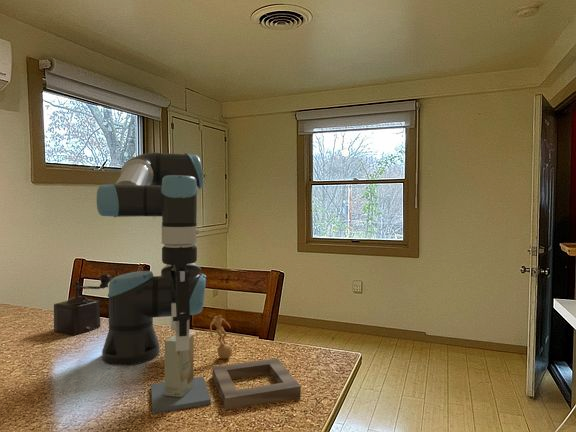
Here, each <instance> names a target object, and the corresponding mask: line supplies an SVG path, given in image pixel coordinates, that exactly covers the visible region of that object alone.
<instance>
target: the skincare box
mask: <svg viewBox="0 0 576 432" xmlns="http://www.w3.org/2000/svg"><path fill="white" fill-rule="evenodd" d="M194 339H195V336H194V334H193V333H189V350H184V351H176V333H175V334H174V335H172V336H170V337H169V338H167V339H166V340H164V382H165V385H164V395H166V396H175V397H183V396H184V395H185V394H186V393H187V392H188V391H189V390H190V389H191V388H192V387H193V378H194V352H195V351H194Z"/></svg>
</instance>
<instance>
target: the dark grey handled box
mask: <svg viewBox="0 0 576 432" xmlns="http://www.w3.org/2000/svg"><path fill="white" fill-rule="evenodd" d="M112 279H113V278H112V276H111V275H110V274H108V273H107V274H106V273H103V274H100V276H99V280H100V285H99V286H93V285H92V286H91V285H88V286H87V285H84V286H83V285H82V286H80V282H79V281H78V280H76V281H75V282H74V284H75V285H74V288H75V289H74V290H75V294H74V295H75V296H73V297H70V298H68V299H67V300H66V301H61V302H57V303H53V331H54V332H56V333H59V334H63V335H69V336H73V337H74V336H79V335H82V334H84V333H88V332H90V331H93V330H95V329H98V328H99V327H101V326H102V325H101V307H100V306H101V301H100V300H97V299H92V298H91V299H90V298H88V297H86V296H84V295H79V294H80V293H79V289H82V290H83V289H84V290H86V289H87V290H88V289H89V290H90V289H91V290H99V289H106V288H109V283H110V281H111V280H112Z"/></svg>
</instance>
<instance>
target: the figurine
mask: <svg viewBox="0 0 576 432" xmlns="http://www.w3.org/2000/svg"><path fill="white" fill-rule="evenodd" d="M223 322H224V323H225V324H226V325H227V326H228V327H229V329H231V325H230V324H229V322H228V321H227V320H226V319H225V318H223V317H222V315H221V314H218V315H215V316H214V317H212V321H211V322H210V324H209V331H210V337H213V336H214V333H213V329H212V328H213V327H212V326H213V325H215V327H216V329H215V332H216V333H217V335H218V336H219V337H218V342H219V344H220V345H219V346H218V349H217V355H218V357H219V358H220V359H224V360H225V359H228V358H230V357H231V355H232V353H233V349H232V346H230V345H229V344H228V343H227V342H226V341H225V338H226V337H227V334H228V333H227V332H226V331H225V329H224V327H223V326H222V323H223ZM221 340H222V341H221Z"/></svg>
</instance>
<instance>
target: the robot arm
mask: <svg viewBox="0 0 576 432" xmlns="http://www.w3.org/2000/svg"><path fill="white" fill-rule="evenodd" d="M203 188H204V173H203V165H202V162H201V158H200V156H198V155H197V154H191V153H187V152H186V153H171V152H170V153H167V152H146V153H142V154H138V155H135V156H133V157H132V158H130V159H128V160H127V161H126V162H125V163H124V164H123V166H122V167H121V170H120V176H119V178H118V179H117V181H116V182H115V184H114V183H113V184H112V183H110V184H101V185H99V186H98V188H97V191H96V209H97V212H98V214H99V216H101V217H113V218H119V217H120V218H121V217H122V218H127V217H128V218H129V217H131V218H132V217H134V218H135V217H161V220H162V221H161V244H162V245H164V246H163V247H161V261H162V263H163V264H164V267H162V268H161V269H160V270H161V272H160V275H156V276H154V273H153V271H151V270H139V271H131V272H128V273H123V274H120V275H117V276H114V277H113V278H112V279H111V281H110V282H109V283H108V294H107V298H108V332H107V335H106V339H105V342H104V344H103V347H102V351H101V355H102V356H101V360H102V361H103V362H104V363H105V364H108V365H112V366H131V365H132V366H133V365H137V364H140V363H144V362H147V361H150V360H152V359H154V358H156V357H158V355H159V354H160V343H159V339H158V337H157V334H156V331H155V328H154V322H153V321H154V320H153V319H154V318H165V317H166V318H167V317H171V331H175V334H176V351H184V350H189V334H190V319H191V318H192V317H191V316H194V315H198V314H200V313H202V311H203V308H204V303H205V294H206V284H207V275H206V274H204V273H202V268H201V266H199V264H197V260H198V248H197V246H196V244H197V242H198V241H197V237H198V236H197V235H199V234H200V229H197V224H198V223H197V217H198V216H197V209H198V195H199V192H200V190H201V189H203Z"/></svg>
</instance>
